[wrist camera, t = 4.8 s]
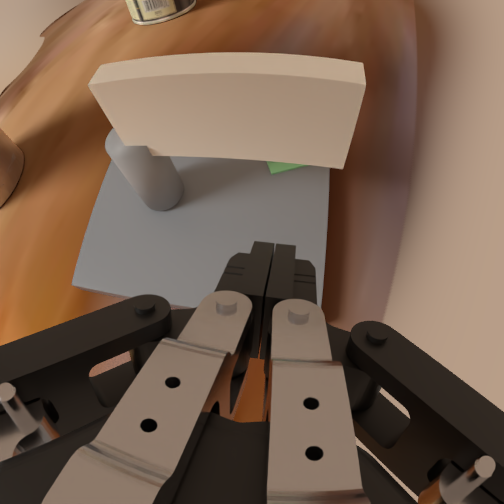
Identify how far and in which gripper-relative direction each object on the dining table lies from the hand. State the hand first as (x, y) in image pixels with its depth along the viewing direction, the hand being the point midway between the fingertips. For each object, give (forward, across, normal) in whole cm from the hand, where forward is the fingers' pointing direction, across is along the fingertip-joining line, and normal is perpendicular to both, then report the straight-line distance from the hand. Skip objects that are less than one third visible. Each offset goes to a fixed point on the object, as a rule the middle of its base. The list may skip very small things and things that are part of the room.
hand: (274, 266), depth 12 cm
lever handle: (+11, -4, -1) cm, 12 cm away
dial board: (+13, -6, -1) cm, 15 cm away
